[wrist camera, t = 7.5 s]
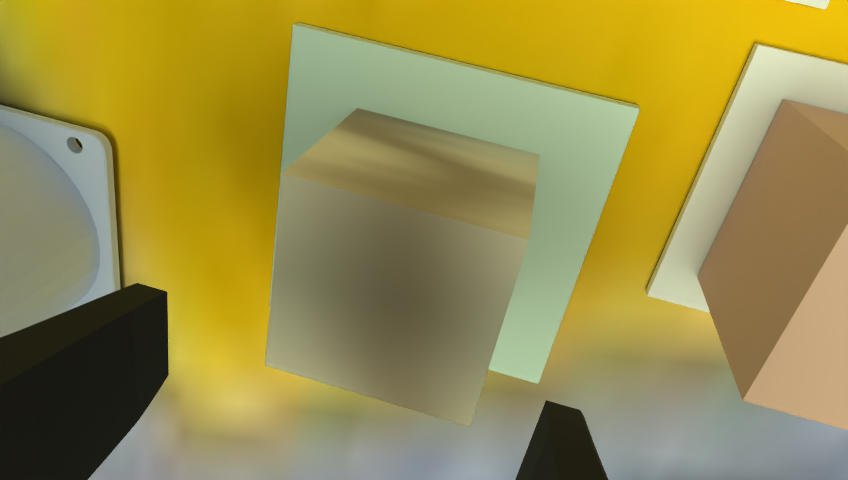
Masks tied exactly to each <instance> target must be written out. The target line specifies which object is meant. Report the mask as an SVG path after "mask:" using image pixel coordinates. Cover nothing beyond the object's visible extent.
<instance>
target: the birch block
mask: <svg viewBox="0 0 848 480" xmlns="http://www.w3.org/2000/svg"><path fill="white" fill-rule="evenodd" d="M539 157H540V155H539V154H535V153H531V152H527V151H523V150H519V149H515V148H512V147H508V146H504V145H500V144H496V143H492V142H488V141H484V140H480V139H477V138H473V137H469V136H465V135H461V134H457V133H453V132H449V131H445V130H442V129H438V128H434V127H430V126H426V125H422V124H418V123H414V122H410V121H407V120H403V119H399V118H395V117H391V116H387V115H383V114H379V113H375V112H372V111H368V110H364V109H360V108H357V109H356V110H354V111H353V112H352V113H351V114H350V115H349V116H347V117H346V118H345V119H344V120H343V121H342V122H341V123H339V124H338V125H337V126H336V127H335V128H334V129H332V130H331V131H330V132H329V133H328V134H327V135H325V136H324V137H323V138H322V139H321V140H320V141H318V142H317V143H316V144H315V145H314V146H313V147H312V148H310V149H309V150H308V151H307V152H306V153H305V154H303V155H302V156H301V157H300V158H299V159H298V160H296V161H295V162H294V163H293V164H292V165H291V166H289V167H288V168H287V169H286V170H285V171H284V172H283V173H282V177H281V189H280V200H279V211H278V223H277V234H276V246H275V257H274V269H273V280H272V292H271V303H270V315H269V326H268V338H267V349H266V361H265V365H266V366H269V367H272V368H276V369H279V370H282V371H285V372H289V373H292V374H295V375H299V376H302V377H305V378H309V379H312V380H315V381H319V382H322V383H325V384H329V385H332V386H335V387H339V388H342V389H345V390H349V391H352V392H355V393H359V394H362V395H365V396H368V397H372V398H375V399H378V400H382V401H385V402H388V403H392V404H395V405H398V406H402V407H405V408H408V409H412V410H415V411H418V412H422V413H425V414H428V415H432V416H435V417H438V418H442V419H445V420H448V421H451V422H455V423H458V424H461V425H465V426H468V427H470V425H471V422H472V419H473V415H474V412H475V409H476V406H477V403H478V400H479V396H480V393H481V390H482V387H483V384H484V381H485V378H486V374H487V371H488V368H489V365H490V362H491V359H492V356H493V352H494V349H495V346H496V343H497V340H498V337H499V334H500V330H501V327H502V324H503V321H504V318H505V315H506V312H507V308H508V305H509V302H510V299H511V296H512V293H513V289H514V286H515V283H516V280H517V277H518V274H519V271H520V267H521V264H522V261H523V258H524V255H525V252H526V249H527V245H528V242H529V238H530V230H531V222H532V214H533V206H534V198H535V189H536V181H537V173H538V165H539Z"/></svg>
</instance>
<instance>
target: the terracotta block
mask: <svg viewBox="0 0 848 480" xmlns="http://www.w3.org/2000/svg"><path fill="white" fill-rule="evenodd" d="M697 278H698V281H699V283H700V286H701V289H702V291H703V294H704V297H705V300H706V302H707V305H708V308H709V311H710V313H711V316H712V319H713V321H714V324H715V327H716V330H717V332H718V335H719V338H720V340H721V343H722V346H723V349H724V351H725V354H726V357H727V359H728V362H729V365H730V368H731V370H732V373H733V376H734V379H735V381H736V384H737V387H738V389H739V392H740V395H741V398H742V400H743V401H746V402H750V403H753V404H757V405H760V406H764V407H767V408H771V409H774V410H778V411H782V412H785V413H789V414H792V415H796V416H799V417H803V418H806V419H810V420H813V421H817V422H820V423H824V424H827V425H831V426H834V427H838V428H842V429H845V430H848V114H845V113H841V112H837V111H833V110H828V109H824V108H820V107H816V106H812V105H807V104H803V103H799V102H795V101H790V100H786V99H783V100H782V102H781V104H780V106H779V109H778V111H777V113H776V115H775V117H774V119H773V121H772V123H771V125H770V127H769V129H768V131H767V133H766V135H765V137H764V140H763V142H762V144H761V146H760V148H759V150H758V152H757V154H756V156H755V158H754V160H753V162H752V164H751V166H750V168H749V171H748V173H747V175H746V177H745V179H744V181H743V183H742V185H741V187H740V189H739V191H738V193H737V195H736V197H735V200H734V202H733V204H732V206H731V208H730V210H729V212H728V214H727V216H726V218H725V220H724V222H723V224H722V226H721V228H720V231H719V233H718V235H717V237H716V239H715V241H714V243H713V245H712V247H711V249H710V251H709V253H708V255H707V257H706V259H705V262H704V264H703V266H702V268H701V270H700V272H699V274H698V276H697Z"/></svg>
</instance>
